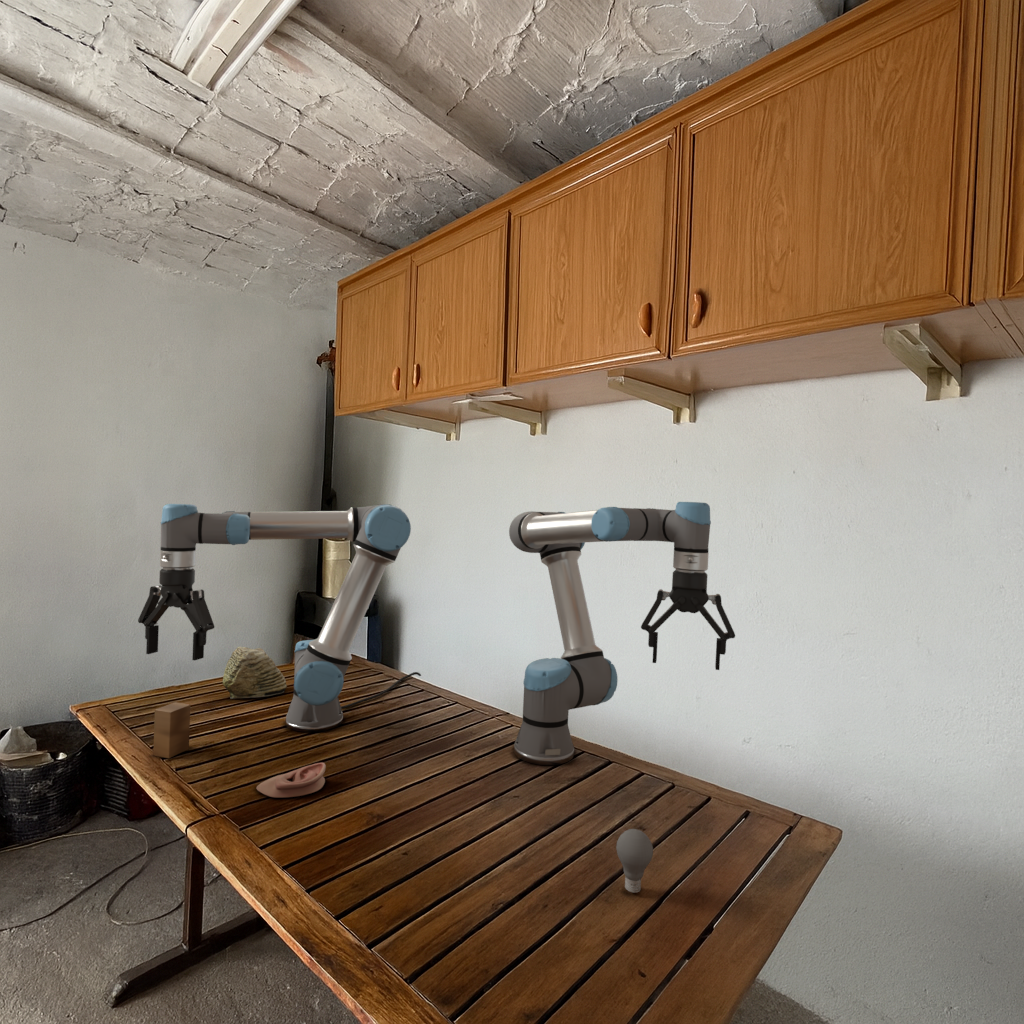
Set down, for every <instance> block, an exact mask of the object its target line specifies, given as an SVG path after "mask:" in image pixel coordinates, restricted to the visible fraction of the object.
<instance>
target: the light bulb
mask: <svg viewBox="0 0 1024 1024" xmlns="http://www.w3.org/2000/svg"><path fill="white" fill-rule="evenodd" d="M615 849H616V854H617V857H618V859H619V861H620V863H621V865H622V867H623V873H624V874H623V875H624V876H625V878H624V888H625V890H627V891H628V892H630V893H634V894H635V893H639V892H640V891H641V889H642V887H641V886H642V879H643V877H644V875H645V871H646V868H647V867H648V866H649V864H650V863H651V861H652V859H653V855H654V847H653V843H652V841H651V838H649V836H648V835H647V834H646V833H645V832H643V831H642V830H641V829H636V828H629V829H627V830H625V831H623V832H622V833H621V834H620V835H619V837H618V839H617V841H616V847H615Z"/></svg>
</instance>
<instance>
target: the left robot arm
mask: <svg viewBox="0 0 1024 1024" xmlns="http://www.w3.org/2000/svg"><path fill="white" fill-rule="evenodd" d="M160 521H161V522H160V552H159V553H160V555H159V556H160V557H159V566H160V567H161V569H160V570H159V578H158V579H159V583H158V584H159V585H154V586H150V587H149V593H148V597H147V599H146V602H145V604H144V606H143V608H142V611H141V613H140V614H139V617H138V618H137V622H138V624H142V625H143V626H144V627H145V628H144V629H145V630H144V639H145V640H146V649H145V654H146V655H151V654H154V653H158V652H159V631H160V630H159V627H160V625H158V622H159V620H160V619H161V618H162V617H163V615H164V614H165V613H166V611H167V610H168V609H169V608H172V607H174V608H177V609H179V608H180V610H181V611H183V612H184V613H185V615H186V617H187V618H188V620H189V621H190V623H191V625H192V627H193V628H194V630H195V631H194V632H193V633H192V659H191V660H192V661H198V660H201V659H204V657H205V656H204V655H205V654H204V653H205V646H206V645H207V634H208V633H207V632H208V631H210V630H214V629H215V624H214V621H213V618H212V615H211V613H210V610H209V607H208V605H207V602H206V599H205V590H204V589H196V590H194V589H193V585H194V584H195V581H196V570H195V566H196V552H197V551H196V549H197V548H196V547H197V544H199V545H203V544H207V545H232V546H235V545H246V544H248V543H249V541H256V540H257V541H259V540H265V541H266V540H318V539H321V540H323V539H326V540H327V539H347V540H349V541H350V542H354V543H353V547H354V550H355V555H354V557H353V559H352V562H351V564H350V565H349V568H348V570H347V572H346V575H345V577H344V579H343V582H342V584H341V586H340V588H339V591H338V592H337V595H336V597H335V599H334V602H333V604H332V606H331V608H330V610H329V613H328V615H327V617H326V619H325V621H324V624H323V626H322V628H321V630H320V632H319V634H318V636H317V638H315V639H306V640H305V639H304V640H300V641H298V642H297V643H295V648H294V649H295V650H293V651H294V672H293V673H294V674H293V675H294V676H293V695H292V696H293V697H292V699H291V702H290V704H289V706H288V711H287V713H286V715H285V726H286V728H287V729H289V730H291V731H294V732H295V731H296V732H301V733H316V732H325V731H329V730H332V729H335V728H337V727H339V726H340V725H342V723H343V722H344V714H343V710H344V709H349V708H350V707H353V706H356V705H359V704H362V703H364V702H367V701H370V700H373V699H376V698H378V697H381V696H383V695H384V694H386V693H388V692H389V691H391V690H392V689H394V687H395V686H397V685H399V683H401V682H403V681H404V680H405V679H409V678H410V677H412V676H414V675H415V676H419V677H421V676H422V674H421V673H420V672H419V671H414V672H411V673H409V674H407V675H405V676H403V677H400V678H399V679H398V680H397V681H396V682H395V681H394V683H393V684H392V685H391V686H389V687H388V688H386V689H385V690H383V691H380V692H379V693H377V694H374V695H371V696H368V697H365V698H362V699H359V700H357V701H353V702H351V703H348V704H345V705H341V702H340V699H339V696H340V694H341V693H342V690H343V688H344V683H345V678H344V677H345V675H346V673H347V670H348V669H349V666H350V664H351V661H352V659H353V656H352V654H351V651H350V649H351V647H352V645H353V643H354V640H355V638H356V636H357V633H358V632H359V629H360V627H361V625H362V622H363V620H364V618H365V616H366V613H367V612H368V608H369V607H370V604H371V602H372V599H373V597H374V595H375V594H376V591H377V589H378V586H379V584H380V582H381V580H382V576H384V572H385V570H386V568H387V566H388V565H392V564H393V563H395V562H396V560H397V558H398V556H399V553H400V551H401V550H402V549H401V548H403V547H404V546H405V544H407V542H408V541H409V538H410V536H411V533H412V532H411V531H412V527H411V521H410V519H409V517H408V515H407V514H406V512H405V511H403V509H401V508H400V507H398V506H396V505H392V504H388V503H387V504H385V503H379V504H374V505H367V506H360V507H359V506H357V507H350V508H349V509H347V510H319V511H318V510H317V511H316V510H315V511H313V510H312V511H311V510H309V511H303V510H301V511H300V510H299V511H234V510H230V511H229V510H228V511H224V512H222V513H220V512H219V513H217V512H216V513H215V512H213V513H209V512H208V513H205V512H199V511H198V506H197V505H196V504H190V503H189V504H188V503H187V504H186V503H167V504H165V505H163V506H162V511H161V520H160Z"/></svg>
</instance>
